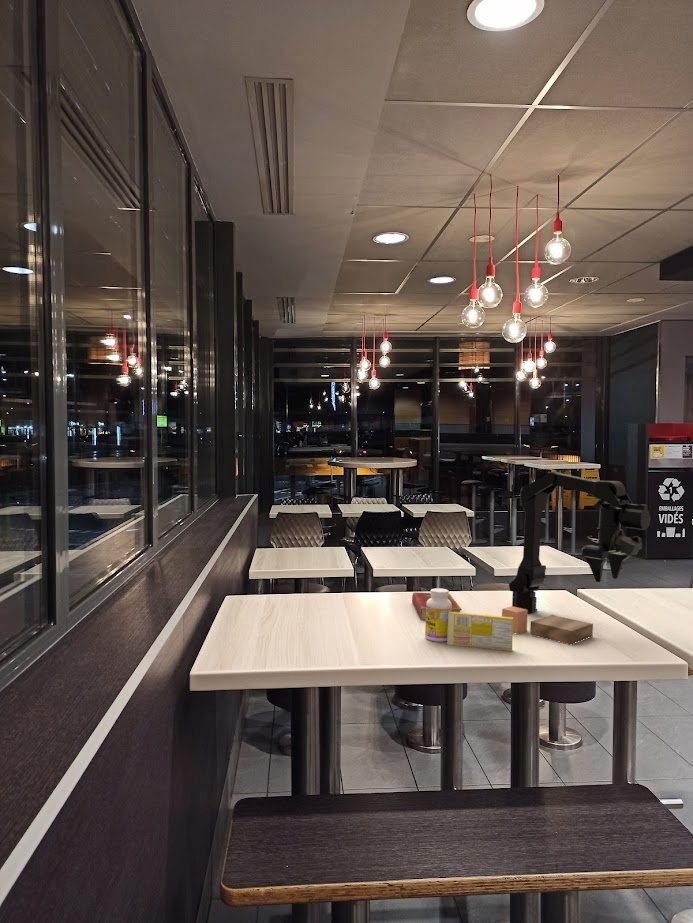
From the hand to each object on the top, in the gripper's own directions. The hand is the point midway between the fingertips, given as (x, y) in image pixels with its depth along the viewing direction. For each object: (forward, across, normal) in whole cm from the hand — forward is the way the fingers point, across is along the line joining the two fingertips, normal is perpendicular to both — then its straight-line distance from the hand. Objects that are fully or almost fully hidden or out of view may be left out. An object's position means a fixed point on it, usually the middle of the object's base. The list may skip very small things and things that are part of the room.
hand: (606, 580), depth 192 cm
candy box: (+15, -43, +10) cm, 47 cm away
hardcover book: (+15, -26, +41) cm, 51 cm away
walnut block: (+15, -16, +4) cm, 22 cm away
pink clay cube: (+14, -23, +14) cm, 30 cm away
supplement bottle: (+15, -47, +20) cm, 53 cm away
